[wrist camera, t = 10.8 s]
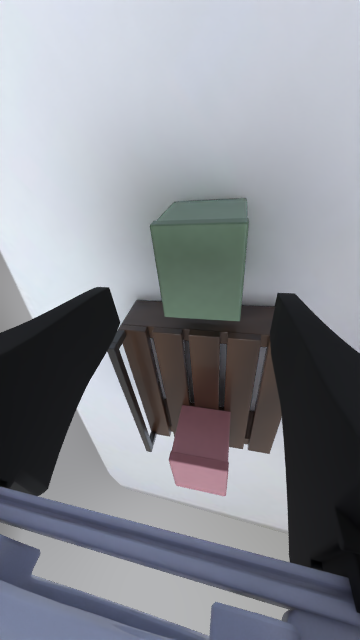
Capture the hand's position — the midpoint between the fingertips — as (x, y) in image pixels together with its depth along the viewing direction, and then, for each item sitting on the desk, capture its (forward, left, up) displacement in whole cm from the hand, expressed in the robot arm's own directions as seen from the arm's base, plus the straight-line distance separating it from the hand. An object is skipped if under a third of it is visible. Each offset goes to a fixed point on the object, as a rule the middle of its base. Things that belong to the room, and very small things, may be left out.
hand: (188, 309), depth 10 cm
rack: (0, +13, -8) cm, 15 cm away
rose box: (0, +17, -4) cm, 17 cm away
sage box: (0, 0, -8) cm, 8 cm away
